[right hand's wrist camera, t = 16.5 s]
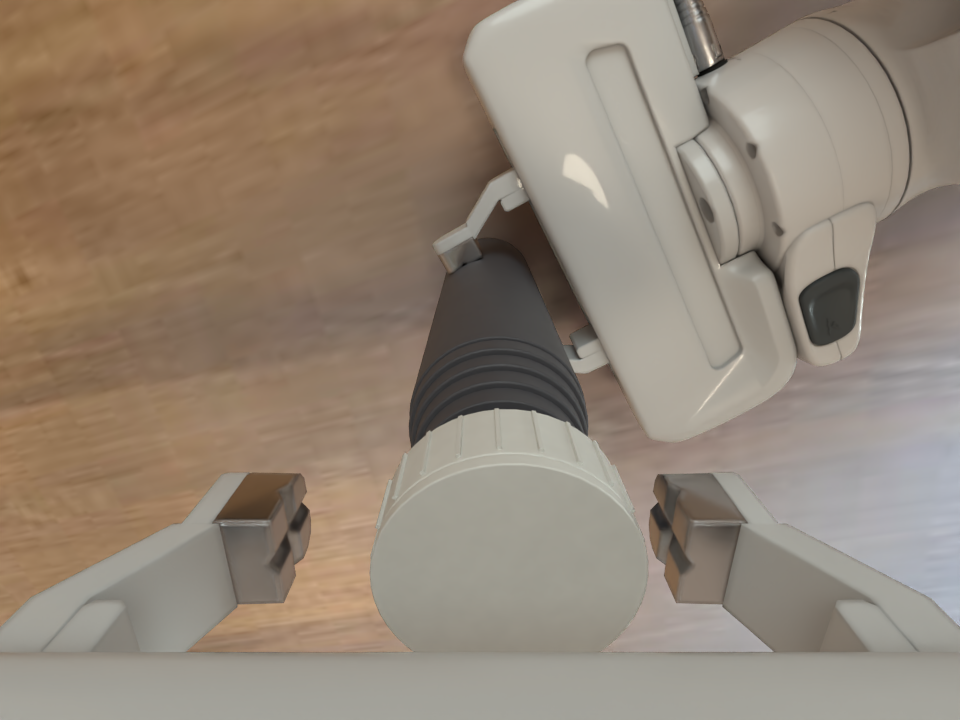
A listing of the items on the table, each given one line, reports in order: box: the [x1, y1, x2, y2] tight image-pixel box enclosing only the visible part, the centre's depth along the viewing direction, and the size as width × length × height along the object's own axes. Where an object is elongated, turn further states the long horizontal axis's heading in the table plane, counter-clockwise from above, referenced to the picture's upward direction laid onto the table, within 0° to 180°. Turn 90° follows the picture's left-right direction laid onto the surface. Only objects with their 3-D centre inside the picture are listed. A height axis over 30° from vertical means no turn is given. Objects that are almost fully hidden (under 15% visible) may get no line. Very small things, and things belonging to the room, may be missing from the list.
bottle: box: [409, 238, 588, 448], centre depth 19 cm, size 5×5×22 cm
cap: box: [370, 408, 648, 652], centre depth 9 cm, size 5×5×2 cm
